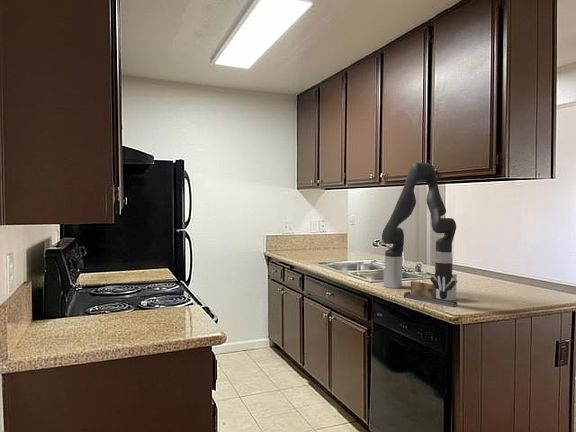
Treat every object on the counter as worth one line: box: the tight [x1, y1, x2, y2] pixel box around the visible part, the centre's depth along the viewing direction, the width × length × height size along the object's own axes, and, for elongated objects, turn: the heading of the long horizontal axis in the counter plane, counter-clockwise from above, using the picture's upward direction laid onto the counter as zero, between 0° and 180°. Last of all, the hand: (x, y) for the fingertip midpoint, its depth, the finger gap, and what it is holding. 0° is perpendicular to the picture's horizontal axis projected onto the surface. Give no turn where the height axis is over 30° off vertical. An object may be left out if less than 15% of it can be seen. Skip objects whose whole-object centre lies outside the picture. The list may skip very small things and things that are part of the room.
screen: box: [410, 280, 436, 299], centre depth 205 cm, size 13×2×7 cm, turn 40°
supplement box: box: [436, 272, 458, 301], centre depth 208 cm, size 7×7×13 cm
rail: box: [403, 291, 459, 308], centre depth 202 cm, size 26×4×2 cm, turn 40°
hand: (443, 298), depth 197 cm, fingers closed
